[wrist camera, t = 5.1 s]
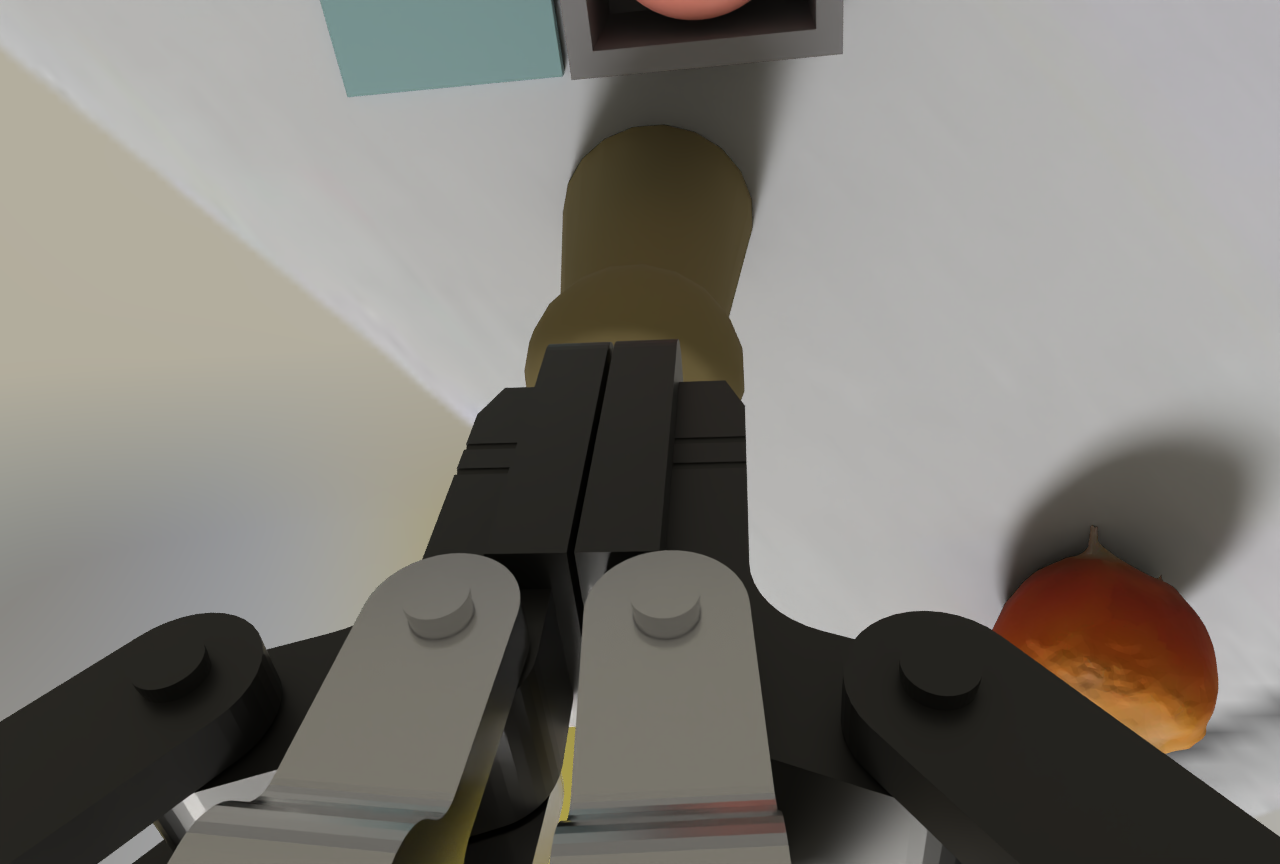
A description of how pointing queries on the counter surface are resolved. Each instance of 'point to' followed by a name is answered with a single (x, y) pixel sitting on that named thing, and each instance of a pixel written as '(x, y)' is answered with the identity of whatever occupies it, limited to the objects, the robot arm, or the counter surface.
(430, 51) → the tile
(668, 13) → the salmon pink ball
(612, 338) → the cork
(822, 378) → the counter surface
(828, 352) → the counter surface
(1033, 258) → the counter surface
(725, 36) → the housing
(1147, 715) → the fruit
